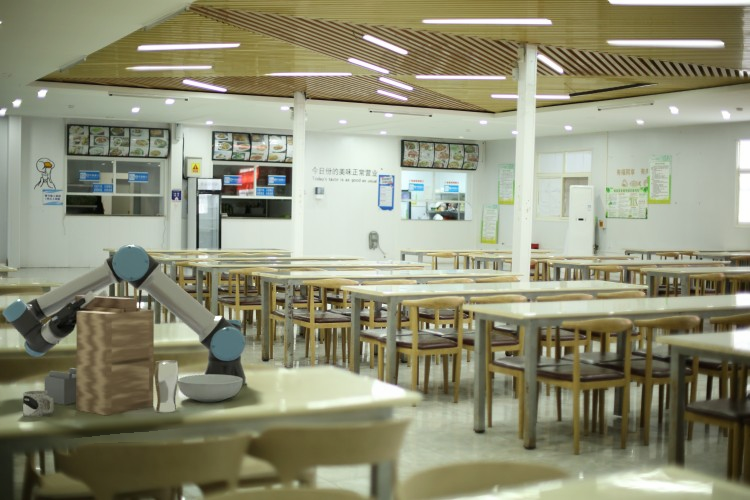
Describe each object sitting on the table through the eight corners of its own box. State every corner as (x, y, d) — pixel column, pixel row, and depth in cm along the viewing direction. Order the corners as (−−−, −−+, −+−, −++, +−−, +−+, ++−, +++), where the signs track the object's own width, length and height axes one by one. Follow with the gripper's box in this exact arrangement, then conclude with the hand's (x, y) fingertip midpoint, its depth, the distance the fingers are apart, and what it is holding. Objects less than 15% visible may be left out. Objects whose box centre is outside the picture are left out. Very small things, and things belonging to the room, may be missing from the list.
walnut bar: (75, 308, 282) (75, 295, 282) (85, 307, 285) (85, 295, 285) (125, 312, 269) (125, 299, 268) (136, 311, 272) (136, 298, 272)
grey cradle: (44, 401, 285) (44, 371, 285) (76, 395, 295) (76, 367, 295) (64, 404, 279) (64, 374, 279) (95, 399, 289) (95, 370, 289)
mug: (18, 416, 262) (18, 393, 262) (34, 411, 268) (34, 389, 268) (45, 418, 258) (45, 395, 258) (61, 414, 264) (61, 392, 264)
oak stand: (76, 409, 271) (76, 308, 271) (123, 401, 286) (123, 304, 285) (106, 415, 263) (106, 310, 263) (153, 406, 278) (153, 306, 278)
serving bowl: (243, 404, 282) (243, 383, 282) (175, 406, 279) (175, 384, 278) (242, 393, 303) (242, 373, 302) (179, 394, 299) (179, 374, 299)
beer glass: (156, 414, 266) (156, 363, 265) (152, 409, 272) (152, 360, 272) (180, 412, 268) (180, 362, 268) (175, 408, 275) (175, 359, 275)
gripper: (84, 335, 296) (125, 303, 285) (38, 340, 282) (79, 306, 270) (77, 315, 298) (117, 282, 287) (31, 319, 284) (71, 285, 272)
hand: (99, 294), depth 278 cm, fingers open, 4 cm apart
